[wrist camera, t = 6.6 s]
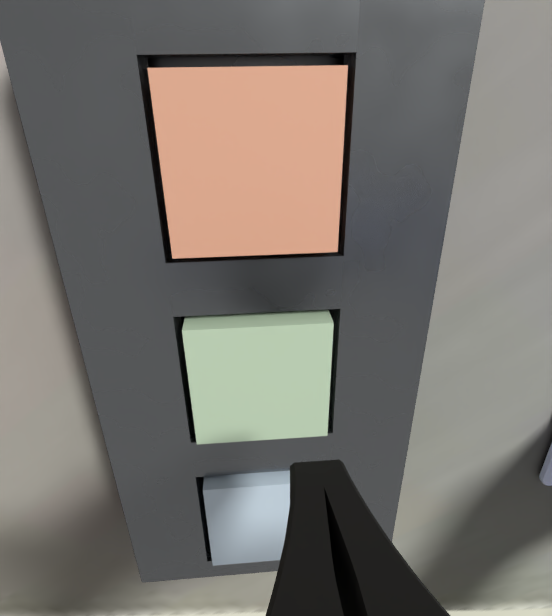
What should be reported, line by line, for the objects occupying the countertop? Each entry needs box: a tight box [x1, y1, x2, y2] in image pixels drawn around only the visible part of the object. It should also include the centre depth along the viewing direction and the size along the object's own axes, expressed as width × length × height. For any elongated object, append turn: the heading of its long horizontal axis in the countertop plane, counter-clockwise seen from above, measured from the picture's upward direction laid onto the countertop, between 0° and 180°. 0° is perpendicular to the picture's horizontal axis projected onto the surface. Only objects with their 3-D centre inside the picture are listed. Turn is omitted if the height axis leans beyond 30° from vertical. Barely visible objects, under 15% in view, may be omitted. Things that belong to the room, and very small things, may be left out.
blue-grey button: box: [203, 470, 290, 566], centre depth 20 cm, size 5×5×3 cm
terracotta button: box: [147, 65, 348, 259], centre depth 13 cm, size 5×5×3 cm
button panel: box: [0, 0, 485, 582], centre depth 17 cm, size 12×23×3 cm, turn 1°
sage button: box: [182, 309, 334, 444], centre depth 17 cm, size 5×5×3 cm
